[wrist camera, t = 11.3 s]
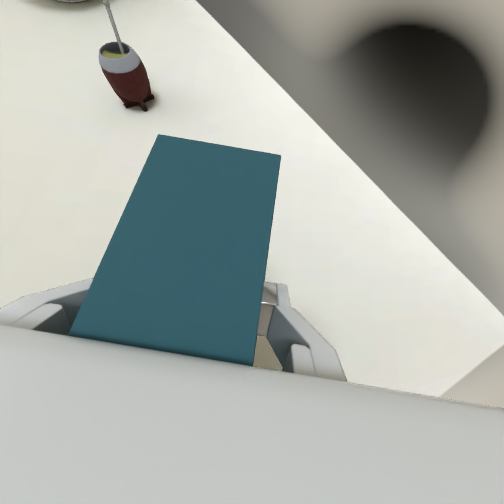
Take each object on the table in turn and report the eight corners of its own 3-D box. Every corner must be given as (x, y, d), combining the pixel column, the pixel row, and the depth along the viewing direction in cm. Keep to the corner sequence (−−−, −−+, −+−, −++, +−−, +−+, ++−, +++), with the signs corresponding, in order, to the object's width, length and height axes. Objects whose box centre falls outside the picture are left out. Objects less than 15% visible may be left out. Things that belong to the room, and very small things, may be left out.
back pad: (236, 387, 12) (224, 575, 3) (167, 376, 12) (-25, 536, 3) (258, 244, 15) (281, 154, 7) (204, 235, 15) (157, 133, 7)
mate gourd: (130, 118, 37) (60, -5, 23) (115, 95, 39) (41, -32, 24) (164, 105, 38) (120, -17, 24) (148, 84, 40) (98, -41, 26)
